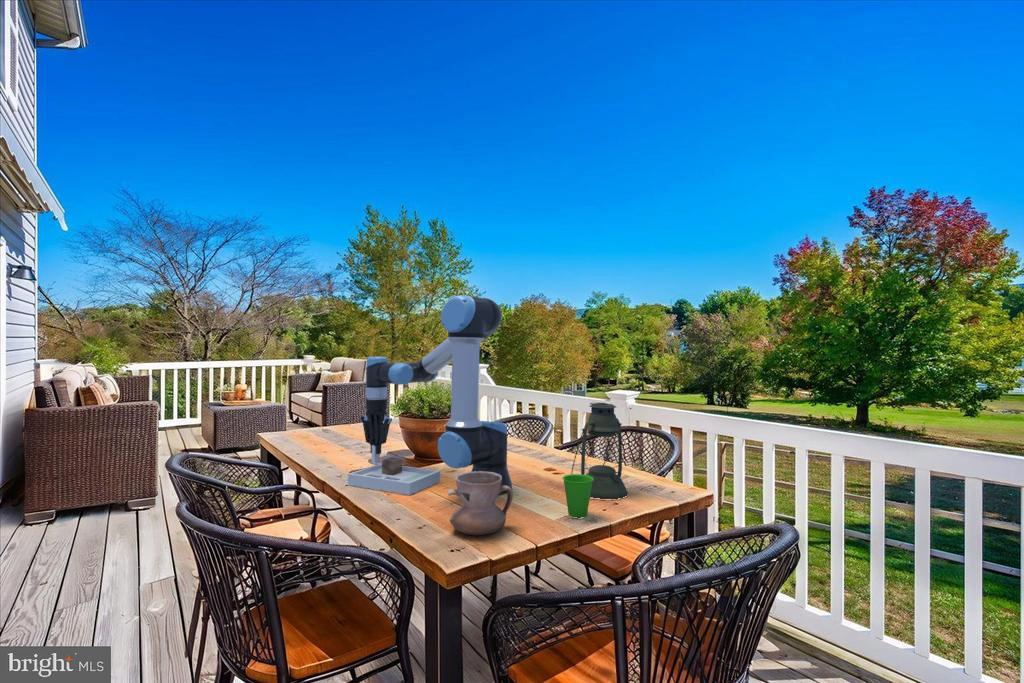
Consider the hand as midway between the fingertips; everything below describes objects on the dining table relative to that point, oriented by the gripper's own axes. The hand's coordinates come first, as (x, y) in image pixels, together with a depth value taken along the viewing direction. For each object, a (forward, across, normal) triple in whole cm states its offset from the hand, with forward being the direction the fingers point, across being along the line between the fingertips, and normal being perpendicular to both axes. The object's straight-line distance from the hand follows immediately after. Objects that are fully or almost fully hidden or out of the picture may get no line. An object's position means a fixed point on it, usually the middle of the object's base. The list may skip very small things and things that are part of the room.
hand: (375, 462), depth 184 cm
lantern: (+6, -80, -20) cm, 82 cm away
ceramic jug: (+6, -60, +28) cm, 66 cm away
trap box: (+6, -12, +4) cm, 13 cm away
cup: (+6, -80, +6) cm, 80 cm away
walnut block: (+3, -8, 0) cm, 8 cm away
